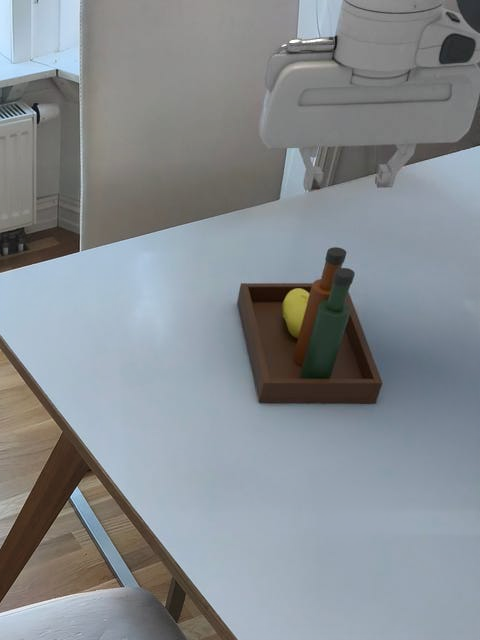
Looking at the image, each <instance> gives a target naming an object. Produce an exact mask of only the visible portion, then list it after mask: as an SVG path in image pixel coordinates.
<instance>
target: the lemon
mask: <svg viewBox="0 0 480 640" xmlns="http://www.w3.org/2000/svg"><path fill="white" fill-rule="evenodd" d="M308 298H309V293H308V292H307V291H306V290H304V289H300V288H297V289H293V290H292V291H290V292H289V293H288V294H287V295H286V297H285V299H284V301H283V307H282V310H283V317H284V319H285V321H286V324H287V327H288V330H289V332H290V334H291V335H292V336H293V337H295V338H297V339H298V337H299V333H300V329H301V325H302V321H303V318H304V314H305V310H306V306H307V302H308Z"/></svg>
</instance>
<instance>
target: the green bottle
mask: <svg viewBox="0 0 480 640" xmlns="http://www.w3.org/2000/svg"><path fill="white" fill-rule="evenodd" d="M355 274H356V273H355V271H354V270H352V269H351V268H348V267H341V268H339V269H337V270H336V271H335V274H334V277H333V285H332V288H331V292H330V296H329V299H328V300H325V301H323V302H321V303H320V304H319V307H318V311H317V315H316V318H315V322H314V326H313V329H312V333H311V337H310V341H309V344H308V348H307V352H306V355H305V359H304V363H303V366H302V370H301V374H300V377H299V379H330V377H331V374H332V371H333V367H334V364H335V361H336V357H337V354H338V351H339V347H340V344H341V341H342V338H343V334H344V331H345V328H346V324H347V321H348V318H349V314H350V311H351V308H350V306H349V305H348V304H347V303H345V302H346V298H347V295H348V292H350V288H351V285H352V284H353V281H354V279H355Z"/></svg>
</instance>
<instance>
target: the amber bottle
mask: <svg viewBox="0 0 480 640" xmlns="http://www.w3.org/2000/svg"><path fill="white" fill-rule="evenodd" d="M346 256H347V250H345V249H344V248H342V247H339V246H338V247H337V246H334V247H330V248H328V249H327V251H326V254H325V258H324V260H325V262H324V267H323V270H322V273H321V278H320V279H316V280H314V281H313V282H312V283H313V284H312V287H311V291H310V294H309V298H308V302H307V306H306V310H305V314H304V318H303V321H302V325H301V329H300V333H299V337H298V341H297V344H296V348H295V352H294V356H293V360H294V362H295V363H296V364H297V365H299V366H303V363H304V359H305V355H306V352H307V348H308V344H309V341H310V337H311V333H312V329H313V326H314V322H315V318H316V315H317V311H318V307H319V304H320V303H321V302H323V301H325V300H328V299H329V296H330V292H331V288H332V285H333V277H334V274H335V271H336V270H337V269H339V268H343V267H342V266H343V264H344V262H345V260H346Z"/></svg>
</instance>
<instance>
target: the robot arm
mask: <svg viewBox="0 0 480 640" xmlns="http://www.w3.org/2000/svg"><path fill="white" fill-rule="evenodd" d="M455 1H456V5H457V8H458V10H459V13H458V12H456V11H453V10H450V9H447V8H445V7H444V6H445V2H446V0H342V1H341V7H340V11H339V15H338V20H337V26H336V29H335V34H334V36H321V37H312V38H307V39H306V38H305V39H302V38H299V37H296V38H290V39H287V40H286V42H285V43H284V44H281V45H280V46H278V47H276V48H275V49H274V51H273V52H272V53H271V54H270V56H269V58H268V61H267V65H266V69H265V77H264V84H265V86H266V92H265V96H264V100H263V103H262V108H261V111H260V116H259V121H258V126H257V129H258V130H257V131H258V135H259V138H260V140H261V142H262V143H263V145H264V146H265V147H266V148H267V149H270V150H276V149H298V150H299V153H300V156H301V159H302V163H303V165H304V168H305V171H304V177H303V183H302V184H303V189H304V190H305V191H317V190H320V189H321V187H322V184H321V183H322V181H323V178H324V171H323V170H322V167H321V166H314V165H313V161H312V159H311V158H313V159H314V158H316V157H317V155H318V151H319V148H330V147H331V148H332V147H333V148H335V147H336V148H337V147H360V146H361V147H362V146H363V147H365V146H388V145H389V146H390V145H391V146H392V145H395V147H396V149H397V150H396V151H395V153H394V154H393V155H392V156H391V158H390V159H389V160H388V162H386V163H383V164H382V163H380V164H378V166H377V174H376V175H375V179H374V185H376V188H377V189H386V188H387V189H388V188H389V189H390V188H393V186H394V184H395V181H396V177H397V174H398V172H400V170H401V169H402V168H403V167H404V166H405V165H406V163H408V161H409V160H410V159H411V158H412V157H413V156H414V155H415V154H414V153H415V151H416V147H417V144H419V145H420V144H442V143H443V144H445V143H458V142H459V141H460V140H461V139H462V138H463V137H464V136H465V135H466V134H467V133H468V132H469V131H470V129H471V126H472V125H473V124H472V123H473V120H474V117H475V114H476V109H477V106H478V102H479V98H480V66H479V65H478V63H479V62H480V0H455ZM284 50H285V51H284Z"/></svg>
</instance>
